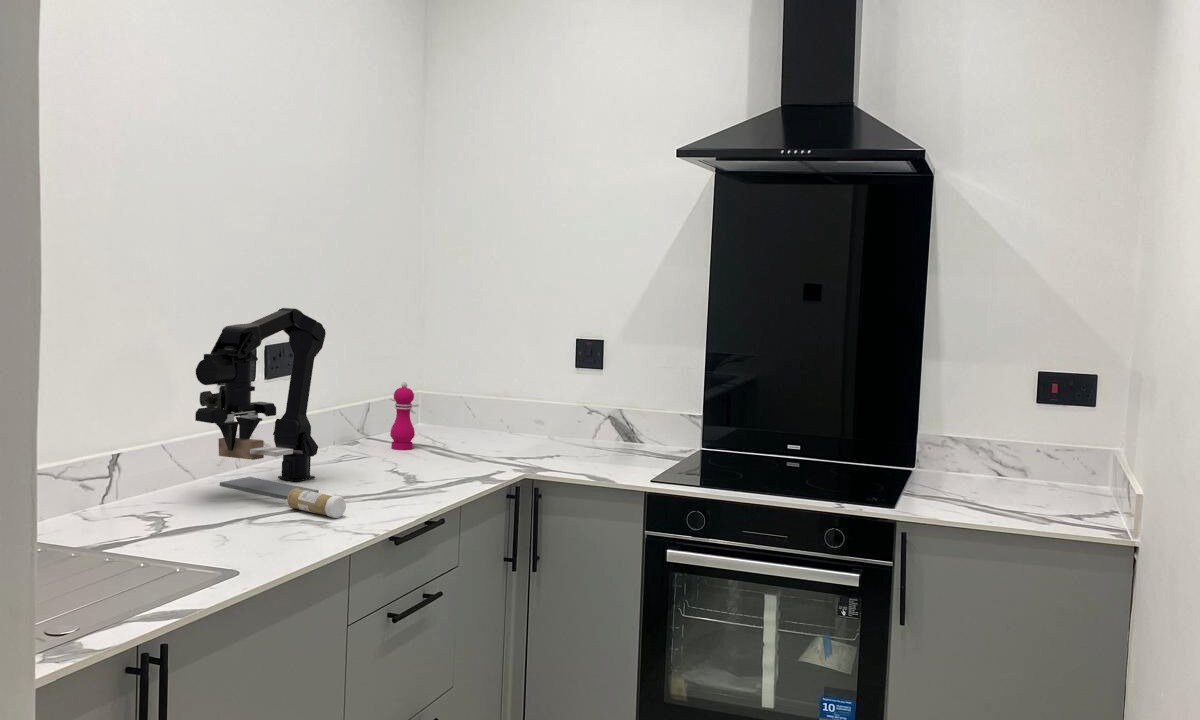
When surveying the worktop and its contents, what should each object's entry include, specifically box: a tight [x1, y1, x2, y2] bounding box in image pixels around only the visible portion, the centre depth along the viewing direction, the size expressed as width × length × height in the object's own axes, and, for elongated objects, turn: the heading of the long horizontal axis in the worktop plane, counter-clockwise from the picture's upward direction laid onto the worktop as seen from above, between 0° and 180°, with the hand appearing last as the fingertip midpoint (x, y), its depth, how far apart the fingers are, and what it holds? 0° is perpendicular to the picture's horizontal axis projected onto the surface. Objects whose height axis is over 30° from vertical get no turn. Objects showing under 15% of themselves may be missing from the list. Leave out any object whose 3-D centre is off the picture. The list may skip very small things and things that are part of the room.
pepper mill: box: [389, 382, 416, 451], centre depth 297 cm, size 7×7×20 cm
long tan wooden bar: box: [217, 437, 293, 461], centre depth 223 cm, size 19×5×4 cm, turn 62°
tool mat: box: [219, 476, 320, 501], centre depth 233 cm, size 9×23×1 cm, turn 61°
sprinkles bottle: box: [286, 488, 347, 519], centre depth 213 cm, size 5×5×14 cm
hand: (236, 449), depth 225 cm, fingers closed on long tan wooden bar, 3 cm apart
